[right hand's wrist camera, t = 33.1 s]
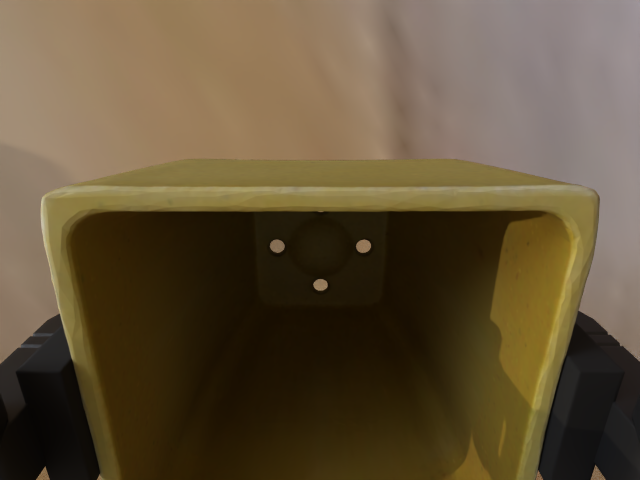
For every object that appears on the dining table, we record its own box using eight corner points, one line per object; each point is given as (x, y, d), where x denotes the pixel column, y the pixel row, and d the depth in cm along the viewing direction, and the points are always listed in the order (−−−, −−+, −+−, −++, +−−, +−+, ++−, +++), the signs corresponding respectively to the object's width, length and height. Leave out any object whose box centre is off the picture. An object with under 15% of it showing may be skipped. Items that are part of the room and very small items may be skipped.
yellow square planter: (189, 119, 15) (19, 189, 6) (448, 119, 15) (619, 188, 6) (213, 339, 18) (121, 576, 10) (424, 338, 18) (517, 575, 10)
